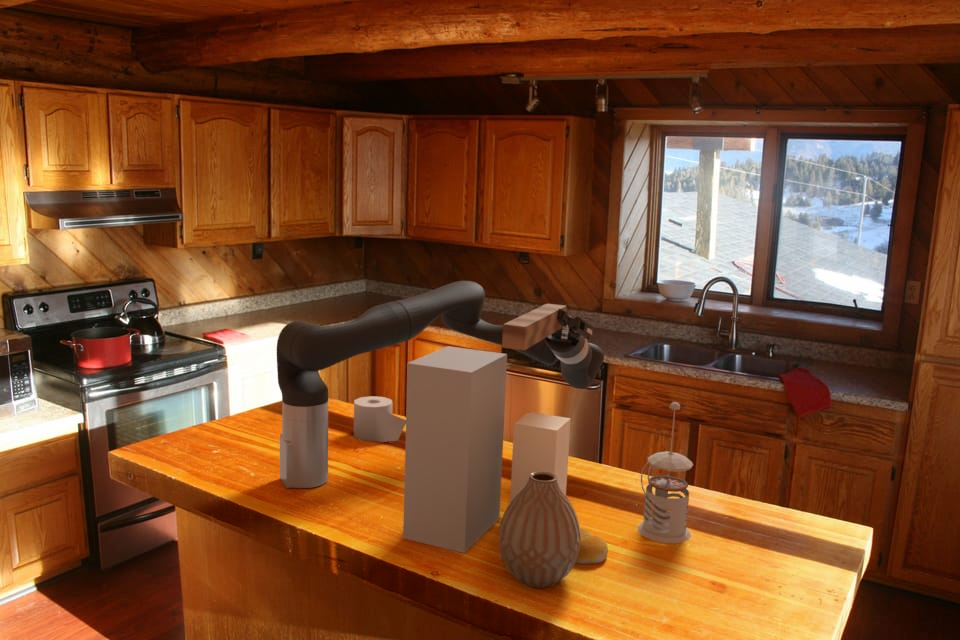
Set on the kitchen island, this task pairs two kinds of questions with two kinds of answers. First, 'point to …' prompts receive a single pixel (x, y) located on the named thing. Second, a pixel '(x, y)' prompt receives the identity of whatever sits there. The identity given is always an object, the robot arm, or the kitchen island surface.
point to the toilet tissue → (376, 420)
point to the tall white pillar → (453, 446)
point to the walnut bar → (531, 327)
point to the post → (539, 449)
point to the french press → (666, 497)
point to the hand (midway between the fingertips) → (547, 312)
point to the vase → (540, 533)
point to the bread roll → (591, 548)
